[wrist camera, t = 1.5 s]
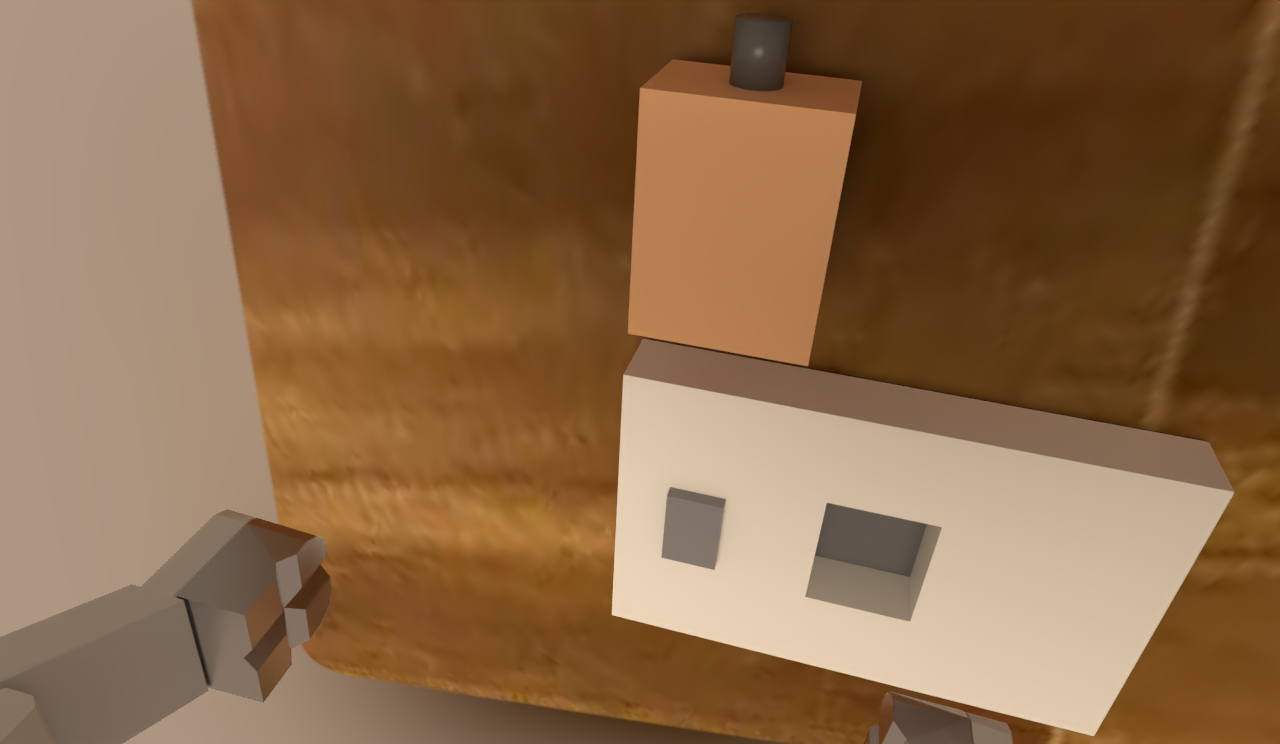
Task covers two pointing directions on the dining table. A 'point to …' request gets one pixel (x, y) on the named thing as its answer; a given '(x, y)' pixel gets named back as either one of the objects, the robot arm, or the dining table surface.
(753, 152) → the plug
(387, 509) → the dining table surface
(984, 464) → the socket plate
